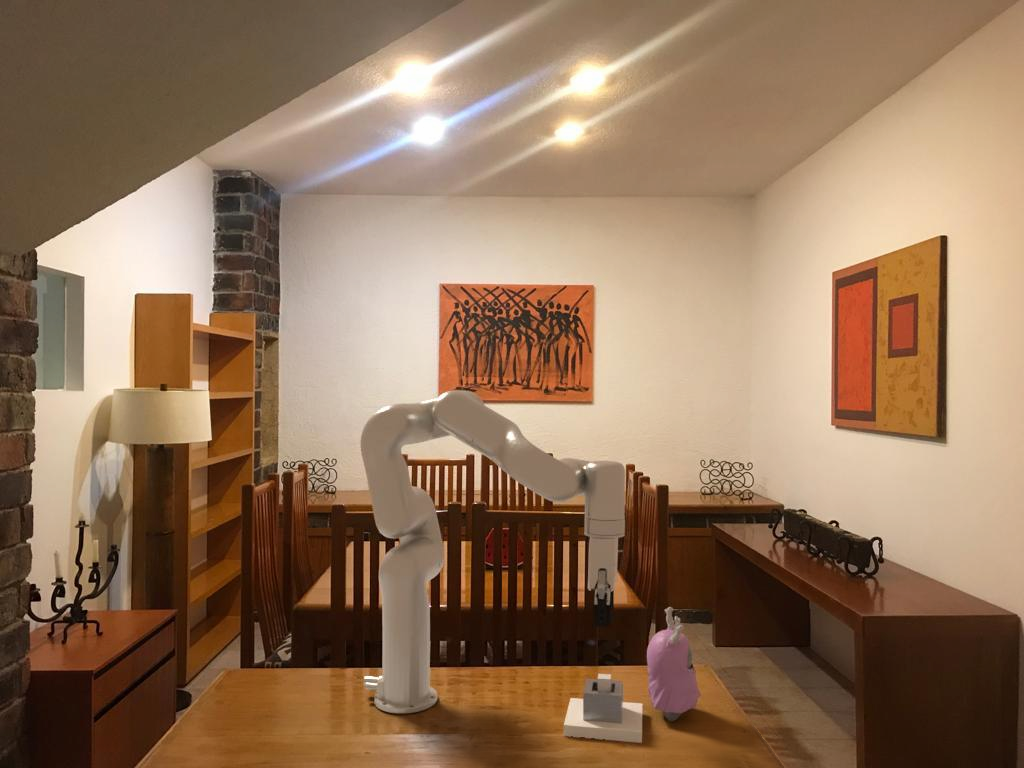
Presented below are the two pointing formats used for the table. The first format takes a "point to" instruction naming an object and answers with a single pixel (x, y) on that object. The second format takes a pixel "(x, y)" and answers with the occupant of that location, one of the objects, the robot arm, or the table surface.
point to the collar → (603, 702)
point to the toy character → (671, 671)
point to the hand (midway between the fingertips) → (603, 617)
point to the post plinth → (604, 730)
